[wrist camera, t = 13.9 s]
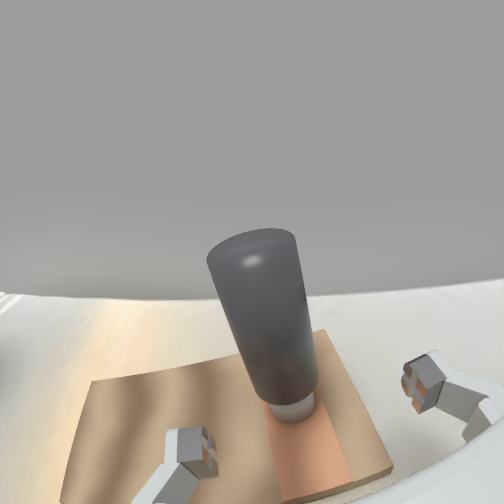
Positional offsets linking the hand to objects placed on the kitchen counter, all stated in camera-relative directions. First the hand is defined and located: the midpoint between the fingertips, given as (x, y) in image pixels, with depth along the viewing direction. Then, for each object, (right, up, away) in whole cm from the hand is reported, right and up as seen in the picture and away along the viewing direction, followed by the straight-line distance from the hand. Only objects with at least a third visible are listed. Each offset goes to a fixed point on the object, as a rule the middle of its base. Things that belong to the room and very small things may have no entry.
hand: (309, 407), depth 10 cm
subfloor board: (-6, -8, +9) cm, 13 cm away
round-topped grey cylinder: (+1, -4, +8) cm, 9 cm away
